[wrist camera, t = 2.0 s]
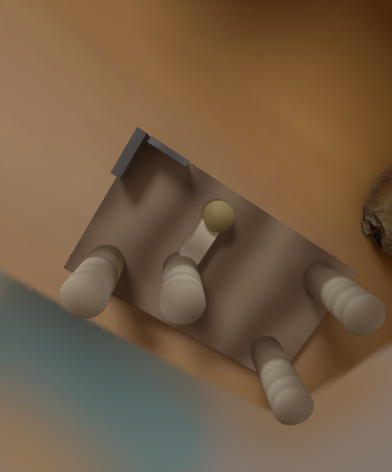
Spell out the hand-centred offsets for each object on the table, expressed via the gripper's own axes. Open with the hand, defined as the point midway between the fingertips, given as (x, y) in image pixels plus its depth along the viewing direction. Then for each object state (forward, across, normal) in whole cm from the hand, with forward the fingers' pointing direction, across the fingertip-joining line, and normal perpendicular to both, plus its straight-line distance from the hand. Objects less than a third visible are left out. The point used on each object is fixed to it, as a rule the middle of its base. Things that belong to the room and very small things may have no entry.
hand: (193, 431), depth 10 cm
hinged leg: (+20, +2, 0) cm, 20 cm away
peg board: (+24, +3, -3) cm, 24 cm away
